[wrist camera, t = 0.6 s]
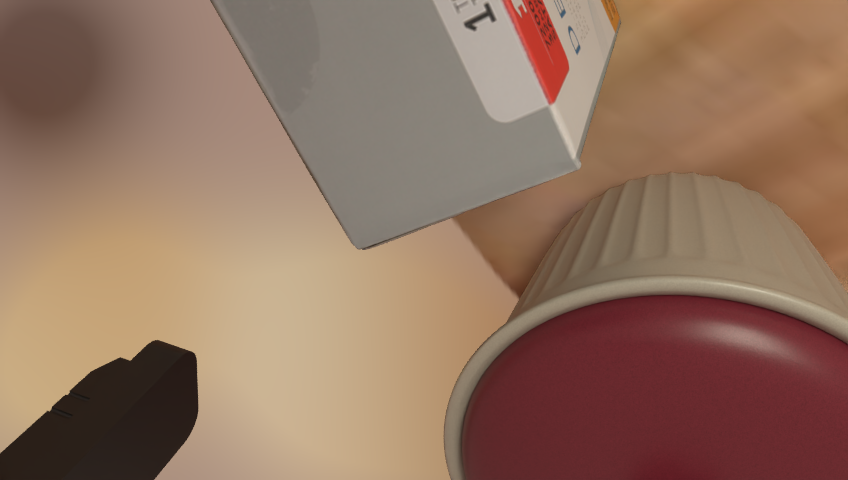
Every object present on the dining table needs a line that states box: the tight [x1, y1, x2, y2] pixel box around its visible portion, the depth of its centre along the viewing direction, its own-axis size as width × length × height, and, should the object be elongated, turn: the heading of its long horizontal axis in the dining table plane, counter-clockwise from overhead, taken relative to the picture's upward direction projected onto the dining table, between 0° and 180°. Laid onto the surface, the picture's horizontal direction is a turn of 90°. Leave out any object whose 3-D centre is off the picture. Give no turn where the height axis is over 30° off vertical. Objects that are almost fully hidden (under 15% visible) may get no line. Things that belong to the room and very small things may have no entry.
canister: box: [444, 172, 848, 480], centre depth 31 cm, size 18×18×21 cm
